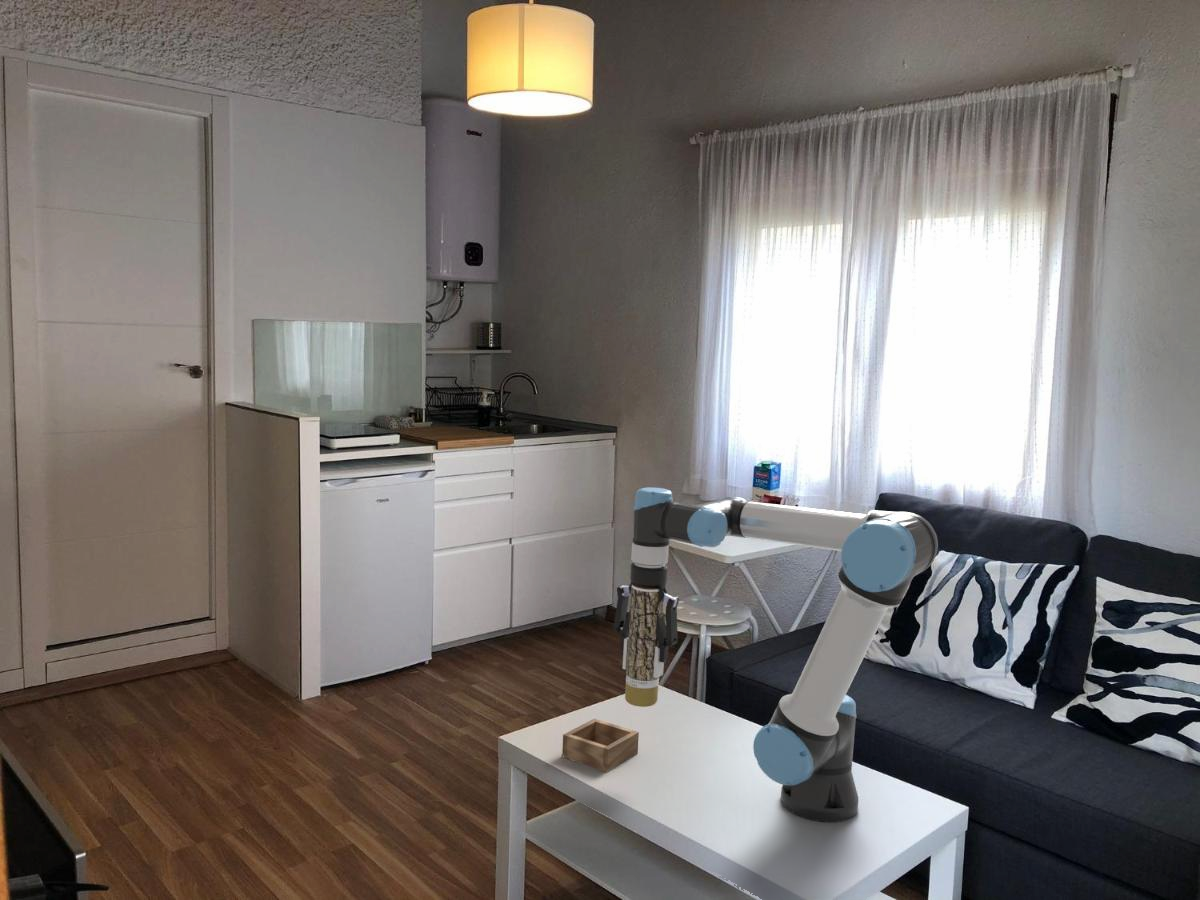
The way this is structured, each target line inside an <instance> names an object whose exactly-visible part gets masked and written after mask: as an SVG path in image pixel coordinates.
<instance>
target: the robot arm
mask: <svg viewBox="0 0 1200 900" xmlns="http://www.w3.org/2000/svg"><path fill="white" fill-rule="evenodd" d="M635 493H636V494H635V499H634V507H633V510H632V511H633V529H632V530H633V531H632V532H633V533H632V542H631V556H630V557H631V558H630V560H631V562H632V563H631V564H630V572H629V573H630V576H629V579H630V583H629V585H626V584H623V585H621V586H618V587H616V593H617V602H616V608H615V615H614V621H613V626H612V627H613V629H612V631H613V633H617V634H618V635H620V651H621V652H623V655H622V670H625V671H627V654H628V637H629V621H630V610H629V611H628V606H629V601H630V600H629V598H630V596H631V587H632V583H634V584H638V585H642V586H648V587H652V588H657V589H658V588H659V589H658V590H659V597H658V600H659V602H661V601H662V600H664V605H665V616H664V614H663V615H662V617H661V618H659V617H658V616H657V622H656V635H657V639H658V643H659V645H658V646H656V647H655V658H654V674H653V677H654V678H658V677H659V678H660V677H661V676H664V671H665V670H664V669H665V668H664V667H665V662H667V661H668V657H669V656H668V655H669V647H672V646H674V645H676V644H678V640H679V638H678V610H677V607H678V605H679V602H680V598H679V597H678V595H677V596H676V595H675V596H672V595H670V594H668V591H667V589H666V585H667V581H668V566H667V564H668V562H669V549H670V548H669V547H670V540H672V541H677V542H681V543H686V544H691V545H694V546H698V547H707V548H717V547H718V546H720V545H721V543H722V542H724V540H725V538H726V537H736V538H745V539H751V540H752V539H753V540H759V541H765V542H766V541H767V542H773V543H774V542H775V543H782V544H789V545H795V546H803V547H810V548H815V549H821V550H822V549H823V550H830V551H831V550H832V551H838V552H841V554H840V560H841V561H840V562H841V568H840V570H839V571H838V574H837V579H838V582H839V585H840V586H841V588H840V590H839V593H838V594H837V597H836V598H835V601H834V603H833V605H832V607H831V610H830V612H829V614H828V616H827V618H826V620H825V622H824V625H823V627H822V629H821V631H820V634H819V635H818V638H817V640H816V642H815V644H814V646H813V648H812V651H811V653H810V655H809V657H808V658H807V662H806V663H805V666H804V667H803V670H802V672H801V675H800V676H799V679H798V681H797V683H796V685H795V687H794V688H793V691H792V693H789V694H786V695H783V696H782V697H781V698H780V700H779V702H778V704H777V707H776V708H775V710H774V713H773V714H772V717H771V719H770V721H769V722H768V724H764V725H763V726H762V727H761V728H760V729H759V730H758V732H757V733H756V735H755V737H754V739H753V746H752V749H753V754H754V757H755V758H756V759H755V760H756V761H757V765H758V767H759V768H760V770H761V771H762V772H763V773H764V774H765V776H767V777H768V778H769V779H770V780H772V781H774V782H775V783H777V784H780V785H782V786H781V790H780V801H781V804H782V806H783V807H785V809H786V810H788V811H789V812H791V813H793V814H795V816H799V817H801V818H804V819H808V820H813V821H817V822H829V823H831V822H842V821H846V820H849V819H851V818H853V817H854V816H856V815H857V814H858V812H859V810H858V809H859V796H858V791H857V788H856V784H855V780H854V776H853V771H852V769H853V768H852V767H853V759H854V758H853V757H854V755H853V754H854V746H855V745H854V744H855V734H856V733H855V732H856V731H855V730H856V719H857V712H856V711H857V706H856V704H857V703H856V701H855V700H854V699H853V698H852V697H851V696H849V695H848V694H847V693H848V691H849V689H850V686H851V685H852V683H853V680H854V679H855V676H856V674H857V672H858V670H859V667H860V665H862V662H863V660H864V658H865V656H866V653H868V649H869V647H870V646H871V644H872V642H873V639H874V637H875V635H876V633H877V631H878V629H879V627H880V625H881V622H882V621H883V619H884V617H885V614H886V612H887V610H888V609H892V608H897V607H899V606H900V605H901V602H902V600H903V598H904V596H905V595H906V593H907V591H908V589H909V586H910V585H911V582H912V580H913V578H914V577H915V576H917V575H919V574H921V573H923V572H925V571H926V570H927V569H928V568H929V567H931V566H932V564H933V562H934V561H935V559H936V557H937V553H938V548H939V541H938V536H937V533H936V532H935V530H934V528H933V526H932V525H931V523H930V522H929V521H928V520H926V519H925V518H924V517H922V516H921V515H919V514H916V513H914V512H910V511H909V512H908V511H887V510H875V509H873V510H870V511H869V512H868V513H866V514H864V513H853V512H845V511H836V510H828V509H819V508H812V507H811V508H810V507H802V506H793V505H785V504H776V503H765V502H756V501H747V500H746V499H744V498H743V497H739V496H726V497H724V498H722V499H718V500H713V501H710V502H704V503H700V504H688V503H687V504H686V503H682V502H681V503H679V502H676V501H674V500H673V499H674V498H673V492H672V491H671V490H670V489H667V488H663V487H643V488H639V489H638V490H637V491H636V492H635ZM627 613H628V614H627Z"/></svg>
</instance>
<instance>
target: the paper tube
mask: <svg viewBox="0 0 1200 900" xmlns="http://www.w3.org/2000/svg"><path fill="white" fill-rule="evenodd" d="M658 589H659V588H658ZM658 589H657V588H652V587H648V586H642V585H638V584H634V583H632V587H631V594H630V606H629V611H630V621H629V637H628V654H627V669H626V670H625V671H626V674H625V692H624V699H625V702H626V703H628V704H629V705H632V706H635V707H641V708H642V707H643V708H644V707H652V706H655V705H656V704H657V702H658V699H659V698H658V695H659V683H660V682H659V681H660V677H658V678H654V677H653V674H654V658H655V647H656V646H658V645H659V643H658V639H657V635H656V622H657V616H658V617H659V618H661V617H662V615H663V616H664V605H665V600H662V601H661V602H659V600H658V597H659V590H658Z"/></svg>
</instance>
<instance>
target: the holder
mask: <svg viewBox="0 0 1200 900" xmlns="http://www.w3.org/2000/svg"><path fill="white" fill-rule="evenodd" d="M639 733H640V732H639V731H637V730H633V729H629V728H626V727H624V726H620V725H617V724H614V723H610V722H606V721H604V720H600V719H597V718H593V719H591V720H589V721H587V722H585V723H583V724H581V725H579V726H577V727H575V728H573V729H571V730H570V731H567V732H566V733H564V734H562V748H561V749H562V751H561V752H562V753H561V756H564V757H567V758H569V759H568V760H570V759H572V760H571V761H573V760H575V761H574V762H576V761H577V763H579V762H581V763H580V764H582V763H583V764H582V765H585V764H586V765H585V766H588V765H589V766H588V767H591V766H592V768H594V767H595V768H594V769H598V770H599V771H600V770H601V771H603V772H606V773H608V772H609V771H611V770H613V769H615V768H616V767H619V766H620V765H621V764H623V763H625V762H627V761H629V760H630V759H632V758H633V757H635V756H637V755H638V753H639V736H640V735H639ZM564 757H563V758H564ZM567 758H566V759H567Z"/></svg>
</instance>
